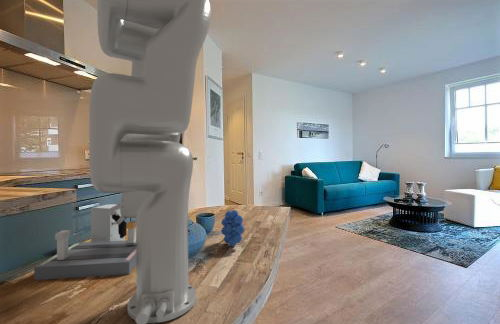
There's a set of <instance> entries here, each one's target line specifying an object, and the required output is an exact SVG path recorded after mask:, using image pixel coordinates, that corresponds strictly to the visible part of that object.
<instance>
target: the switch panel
mask: <svg viewBox="0 0 500 324" xmlns="http://www.w3.org/2000/svg"><path fill="white" fill-rule="evenodd" d="M70 236H71V230H70V229H67V230H66V229H65V230H60V231H59V232H56V233H54V240H55V241H56V254H55V255H53V256H51V257H50V258H48V259H46V260H44V261H42V262H41V263H39V264H37V265H35V266H34V267H33V274H34V277H33V278H34V279H33V280H35V281H39V280H41V281H42V280H56V279H73V278H90V277H91V278H93V277H104V276H106V277H108V276H121V275H130V274H131V273H132V272H133V270H134V269H136V268H135V267H137V258H136V244H135V245H126V243H127V242H128V239H127V240H126V239H125V240H124V241H103V242H91V241H86V242H85V241H84V242H83V241H82V242H81V241H79V242H75V243H74V244H72V245H70V246H69V238H70Z"/></svg>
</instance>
